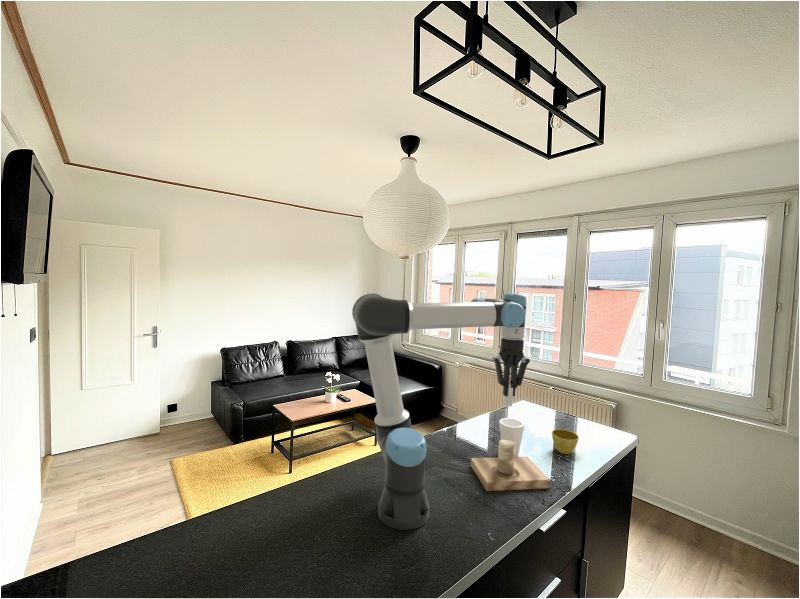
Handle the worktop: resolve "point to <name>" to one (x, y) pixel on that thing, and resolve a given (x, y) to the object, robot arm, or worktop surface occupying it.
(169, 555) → the worktop surface
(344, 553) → the worktop surface
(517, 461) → the board
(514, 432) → the foam cup
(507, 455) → the peg
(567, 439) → the yellow bowl
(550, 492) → the worktop surface
